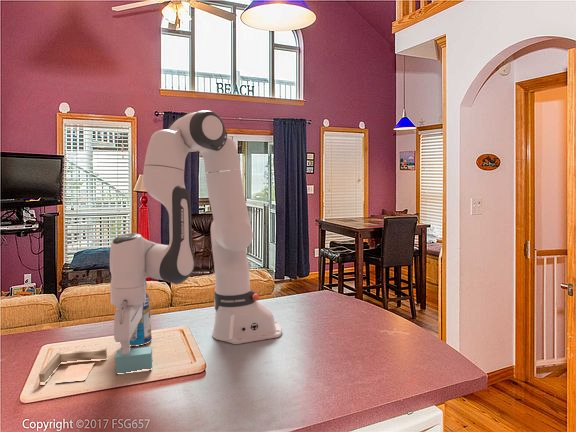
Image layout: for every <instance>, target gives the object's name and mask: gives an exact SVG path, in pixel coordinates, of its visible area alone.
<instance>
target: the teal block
mask: <svg viewBox="0 0 576 432" xmlns="http://www.w3.org/2000/svg"><path fill="white" fill-rule="evenodd" d="M152 347H153V346H145V347H144V346H141V347H135V348H134V347H133V348H130V352H129V354H122V349H120V350H119V349H118V350H117V351H116V353H115V357H114V364H115V366H114V367H115V374H116V373H126V372H131V371H137V370H142V369H151V368H152V369H153V365H152V362H153V363H154V361H153V360H154V359H153V348H152Z"/></svg>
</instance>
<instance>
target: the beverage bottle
mask: <svg viewBox="0 0 576 432" xmlns="http://www.w3.org/2000/svg"><path fill="white" fill-rule="evenodd" d="M146 279H147V278H146ZM146 279H145V281H146V282H147V280H146ZM150 301H151V300H150V296H149V295H148V293H147V292H146V301H145V302H144V303H143V313H142V318H141V320H140V321H139V323H138V327H137V338H136V340H135V341H129V342H130V345H131V346H136V345H141V344H145V343H147V342H149V341H152V340H153V338H152V337H153V336H152V321H151V319H152V318H151V310H152V308H151V304H150ZM151 339H152V340H151Z"/></svg>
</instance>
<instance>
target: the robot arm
mask: <svg viewBox="0 0 576 432" xmlns="http://www.w3.org/2000/svg"><path fill="white" fill-rule="evenodd" d="M190 152H191V153H192V152H193V153H194V152H199V154H201V157H202V159H203V162H204V171H205V179H206V187H207V189H206V190H207V196H208V200H209V205H210V209H211V213H212V218H213V219H212V222H211V225H210V239H211V240H210V241H211V250H212V258H213V259H212V260H213V266H214V282H215V283H214V284H215V285H214V287H215V290H214V294H213V295H214V296H213V301H214V302H213V303H214V304H213V306H214V310H215V313H214V314H215V317H214V324H213V329H212V334H211V336H212V338H214V339H215V340H217V341H221V342H226V343H230V344H233V345H240V344H246V343H251V342H258V341H263V340H264V341H265V340H269V339H274V338H280V337H281V336H282V333H283V331H282V327H281V325H280V324H279V323H278V322H276V321H275V317H274V315H273V313H272V311H271V310H270V309H269V308H268V307H267V306H264V305H263V304H262V303H260V302H259V300H260V299H259V298H260V296H259V294H258V293H257V292H256V291H255V290H254V289H251V288H250V287H251V286H250V285H251V283H250V282H251V281H250V265H249V261H248V254H247V248H248V247H249V246H250V245H251V243H253V238H254V232H253V228H252V225H251V220H250V216H249V215H250V214H249V210H248V206H247V203H246V198H245V193H244V188H243V187H244V186H243V178H242V170H241V162H240V157H239V154H238V150H237V147H236V144H235V141H234V140H233V138H231V137H230V136H228V132H227V130H226V126H225V124H224V121H223V119H222V117H220V115H219V114H218V113H217V112H215V111H212V110H206V109H205V110H199V111H194V112H191V113H187V114H184V116H182V117H179V118H176V119H174V120H173V121H171V122H170V124H169V125H168V127H167V129H159V130H157V131H155V132H154V133H152V135H151V137H150V139H149V141H148V145H147V147H146V153H145V158H144V164H143V171H142V172H143V173H142V181H143V182H142V183H143V188H144V189H145V191H146V193H147V194H148V195H149V196H150V197H151V198H152V199H154V200H156V201H157V202H159V203H161V205H162V206H164V207H165V209H166V211H167V214H168V220H169V221H168V224H169V228H168V229H169V232H168V233H169V234H168V235H169V244H162V243H157V242H154V241H151V240H148V239H146V238H145V237H143V236H142V234H140V233H124V234H121V235H118V236H116V237H115V238H114V239H113V240H112V242H111V245H110V248H109V249H110V251H109V272H110V274H111V280H110V285H109V286H110V304H111V305H112V306H115V310H116V311H115V312H114V319H113V320H114V321H113V322H114V323H113V325H114V326H113V338H114V342H115V343H120V346H121V350H122V354H129V352H130V349H131V347H130V342H129V341H135V340H136V338H137V327H138V323H139V321H140V320H141V318H142V313H143V303H144V302H145V301H146V293H147V280H146V281H145V279H147V278H151V279H155V280H162V281H164V282H168V283H171V284H174V285H179V284H182V283H184V282H185V281H187V279H189V278H190V276H191V275H192V274H193V272H194V269H195V263H196V262H195V254H194V252H193V250H194V249H193V237H192V206H191V205H192V204H191V203H192V202H191V196H190V192H189V191H188V190H187V189H186V183H185V166H186V165H185V164H186V158H187V156H188V154H189V153H190Z"/></svg>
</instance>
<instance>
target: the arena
mask: <svg viewBox="0 0 576 432" xmlns="http://www.w3.org/2000/svg"><path fill="white" fill-rule="evenodd" d="M107 350H108V349H107V348H99V349H98V348H97V349H88V350H78V351H75V350H74V351H64V352H57V353H56V354H55V355H54V356H53V357H52V359H51V360H50V361H49V362H48V363H47V364H46V366H44V368H42V370H41V371H40V373H38V379H39V383H40V382H45V381H46V380H47V379H48V378H49V376H50V375H51V374H52V373H53V371H54V370H55V369H56V368H57V367H58V365H59V364H60V363H61V362H67V361H77V360H91V359H106V358H107V359H108V356H107V355H108V354H107V353H108V352H107Z"/></svg>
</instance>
